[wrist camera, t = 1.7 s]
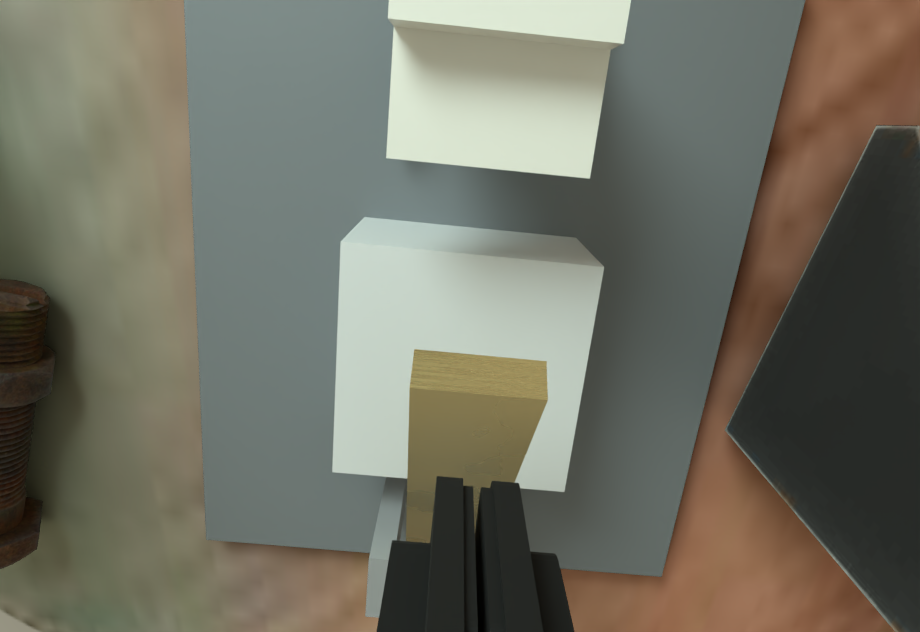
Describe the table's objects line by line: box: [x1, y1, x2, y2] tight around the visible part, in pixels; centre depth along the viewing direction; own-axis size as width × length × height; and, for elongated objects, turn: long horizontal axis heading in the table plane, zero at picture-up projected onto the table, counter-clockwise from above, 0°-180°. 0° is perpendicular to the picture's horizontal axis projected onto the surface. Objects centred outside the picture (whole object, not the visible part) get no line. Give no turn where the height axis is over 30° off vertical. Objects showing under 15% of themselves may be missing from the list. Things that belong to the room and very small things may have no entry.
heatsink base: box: [184, 0, 805, 617], centre depth 26 cm, size 31×26×10 cm
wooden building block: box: [406, 349, 548, 543], centre depth 20 cm, size 15×3×11 cm, turn 174°
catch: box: [386, 0, 631, 179], centre depth 21 cm, size 6×6×11 cm
